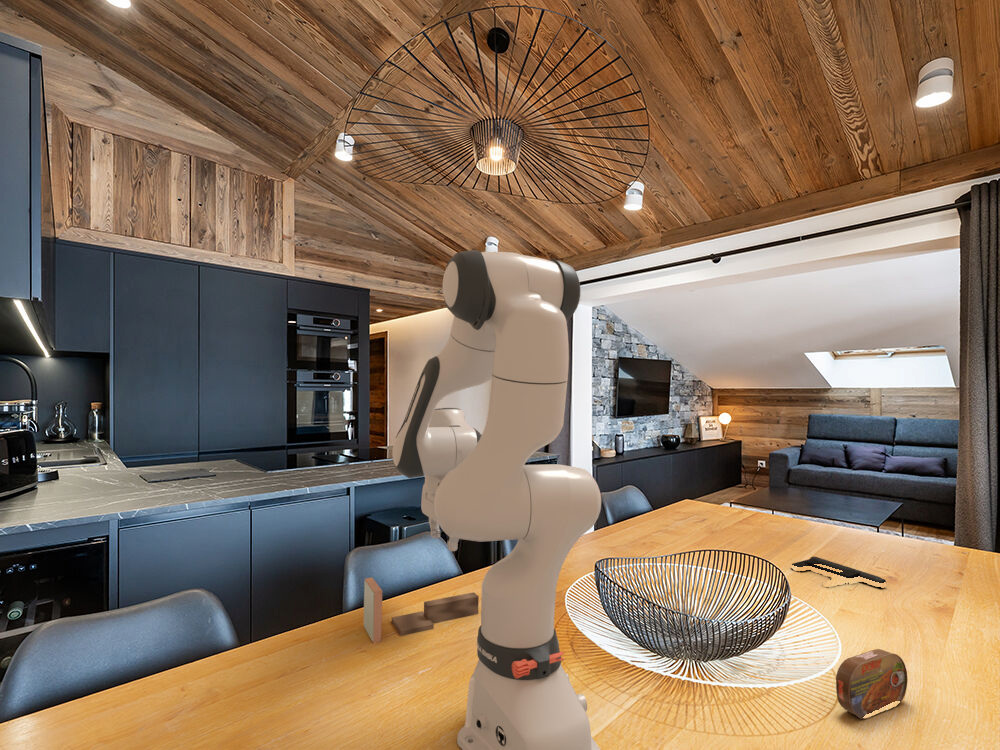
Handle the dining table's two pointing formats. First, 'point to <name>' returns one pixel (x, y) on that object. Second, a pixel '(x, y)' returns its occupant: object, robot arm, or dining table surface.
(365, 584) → the tile
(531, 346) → the robot arm
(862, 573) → the door handle
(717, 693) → the dining table surface
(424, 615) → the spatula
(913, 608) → the dining table surface
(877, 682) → the tin
